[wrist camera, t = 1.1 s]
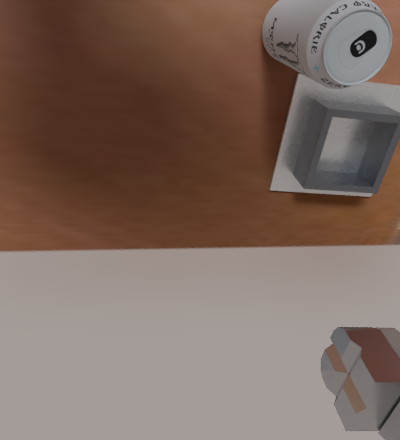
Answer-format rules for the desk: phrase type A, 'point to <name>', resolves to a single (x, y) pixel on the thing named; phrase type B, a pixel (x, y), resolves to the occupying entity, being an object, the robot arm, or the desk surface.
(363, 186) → the socket
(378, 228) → the desk surface
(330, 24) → the energy drink can
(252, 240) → the desk surface
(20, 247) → the desk surface
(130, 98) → the desk surface
